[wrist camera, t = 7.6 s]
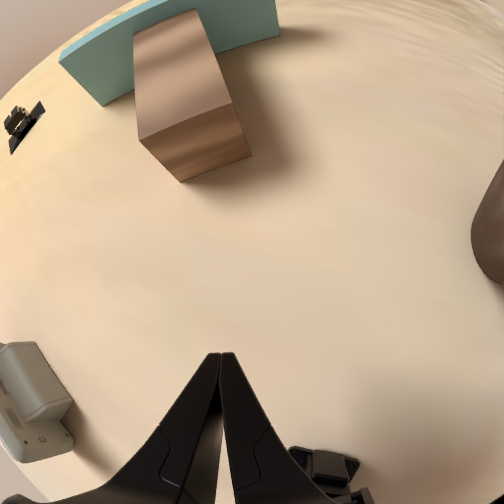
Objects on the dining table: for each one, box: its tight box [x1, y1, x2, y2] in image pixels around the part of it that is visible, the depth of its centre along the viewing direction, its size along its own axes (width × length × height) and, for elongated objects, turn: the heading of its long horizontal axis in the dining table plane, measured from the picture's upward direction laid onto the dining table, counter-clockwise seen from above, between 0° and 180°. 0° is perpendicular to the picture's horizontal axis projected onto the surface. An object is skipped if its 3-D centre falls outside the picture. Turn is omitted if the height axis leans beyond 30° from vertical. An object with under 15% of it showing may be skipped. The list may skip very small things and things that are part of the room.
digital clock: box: [0, 341, 74, 463], centre depth 20 cm, size 16×9×11 cm, turn 38°
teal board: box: [59, 0, 280, 107], centre depth 25 cm, size 8×24×10 cm, turn 107°
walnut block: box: [133, 8, 251, 182], centre depth 23 cm, size 16×7×8 cm, turn 17°
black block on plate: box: [4, 101, 45, 155], centre depth 32 cm, size 12×7×5 cm, turn 133°
